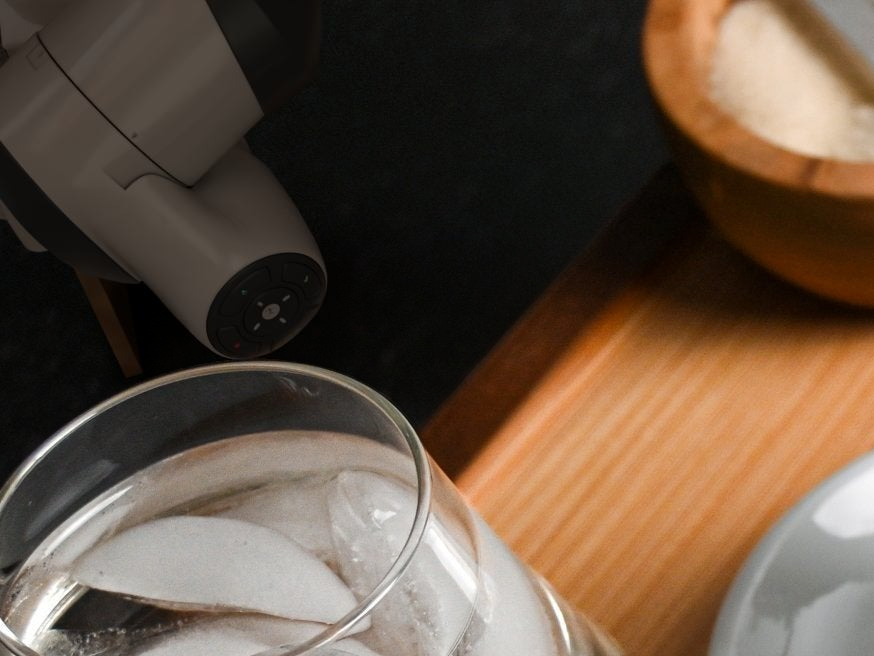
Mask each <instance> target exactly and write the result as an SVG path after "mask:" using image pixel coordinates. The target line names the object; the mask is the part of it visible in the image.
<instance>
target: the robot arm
mask: <svg viewBox="0 0 874 656" xmlns="http://www.w3.org/2000/svg"><path fill="white" fill-rule="evenodd" d="M323 19H324V18H323V1H322V0H70V1H69V2H68V3H67V4H66V5H65V6H64V7H63V8H62V9H61V10H60V11H59V12H58V13H57V14H56V15H55V16H54V17H53V18H52V19H51V20H50V21H49V22H48V23H47V24H46V25H45V26H44V27H43V28H42V29H41V30H40V31H36V32H35V33H34V34H33V35H32V36H31V37H30V38H29V39H28V40H27V41H26V42H25V43H24V44H23V45H22V46H21V47H20V48H19V49H18V50H17V51H16V52H15V53H14V54H13V55H12V56H11V57H10V58H8V56H7V54H6V51H5V49H4V48H3V46H2V45H1V43H0V220H2V221H7V223H8V225H9V226H10V228H11V229H12V231H13V233H14V234H15V235H16V237H17V239H18V240H19V241H20V242H21V244H22V245H23V246H24V248H25V249H27V250H28V251H30V252H35V253H42V252H49V253H50V254H52V255H53V256H54V257H56V258H57V259H58V260H59V261H61V262H63V263H64V264H66V265H67V266H69V267H71V268H72V269H73V270H74V269H76V270H78V271H80V272H82V273H85V274H87V275H90V276H94V277H98V278H103V279H107V280H112V281H116V282H122V283H126V284H133V285H136V284H141V282H143V283H144V284H145V285H146V286H147V287H148V288H149V289H150V290H151V291H152V292H153V293H154V294H155V295H156V296H157V298H158V299H159V300H160V301H161V303H162V304H163V305H164V307H166V308H167V310H169V312H170V313H171V314H172V315H173V316H174V317H175V319H177V321H179V322H180V324H182V325H183V326H184V328H186V330H188V331H189V333H191V334H192V336H194V338H195V339H197V340H198V341H199V342H200V343H201V344H202V345H204V346H205V347H206V348H207V349H209V350H210V351H212V353H214V354H217V355H218V356H220V357H223V358H227V359H230V360H231V359H232V360H249V359H255V358H259V357H263V356H266V355H269V354H270V353H273V352H275V351H277V350H278V349H279V348H281V347H283V346H284V345H286V344H287V343H289V342H290V341H291V340H292V339H293V338H295V336H297V335H298V334H299V333H300V332H301V331H303V329H304V328H306V327H307V326H308V324H309V323H310V322H311V321H312V320H313V318H314V317H316V314H317V313H318V312H319V310H320V309H321V307H322V305H323V303H324V300H325V297H326V293H327V288H328V272H327V268H326V264H325V261H324V258H323V255H322V253H321V251H320V248H319V246H318V244H317V241H316V239H315V238H314V235H313V233H312V231H311V230H310V228H309V226H308V225H307V223H306V221H305V220H304V218H303V217H304V216H303V215H302V214H301V212H300V210H299V209H298V207H297V206H296V204H295V203H294V201H293V199H292V198H291V197H290V196H289V194H288V192H287V191H286V189H285V188H284V186H283V185H282V183H281V182H280V181H279V180H278V178H277V177H276V176H275V174H274V173H273V172H272V170H271V169H270V168H269V167H268V166H267V164H265V163H264V162H263V161H262V160H260V159H259V158H258V157H257V156H255V155H254V154H252V151H251V148H250V146H249V143H248V142H247V140H246V137H245V135H246V134H247V133H248V132H249V131H250V130H251V129H252V128H253V127H254V126H255V125H256V124H257V123H259V121H260V120H261V119H262V118H263V117H265V118H268V117H269V116H270V115H271V114H273V113H274V112H275V111H277V109H279V108H280V107H282V106H283V105H284V104H285V103H286V102H287V101H289V100H291V99H292V97H294V96H296V95H297V94H298V93H299V92H300V91H302V90H303V89H305V87H306V86H307V85H309V84H310V83H311V82H313V81H314V80H315V79H316V78H317V74H318V70H319V65H320V59H321V52H322V43H323Z"/></svg>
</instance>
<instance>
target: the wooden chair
mask: <svg viewBox="0 0 874 656" xmlns="http://www.w3.org/2000/svg"><path fill="white" fill-rule="evenodd" d="M0 43H1V45H2V39H1V28H0ZM73 270H74V272H75V274H76V277H77V279H78V280H79V282H80V285H81V287H82V289H83V292H84V293H85V295H86V297H87V299H88V302H89V303H90V306H91V307H92V310H93V312H94V314H95V317H96V318H97V320H98V323H99V325H100V327H101V329H102V332H103V333H104V335H105V337H106V339H107V341H108V344H109V346H110V348H111V350H112V352H113V354H114V356H115V359H116V360H117V363H118V364H119V366H120V369H121V371H122V373H123V375H124V377H125V378H131V377H134V376H138V375H142V374H144V370H143V365H142V359H141V355H140V354H141V353H140V348H139V344H138V339H137V333H136V328H135V323H134V317H133V313H132V309H131V302H130V298H129V293H128V287H127V283H122V282H116V281H112V280H107V279H103V278H98V277H94V276H90V275H87V274H85V273H82V272H80V271H78V270H76V269H74V268H73Z"/></svg>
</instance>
